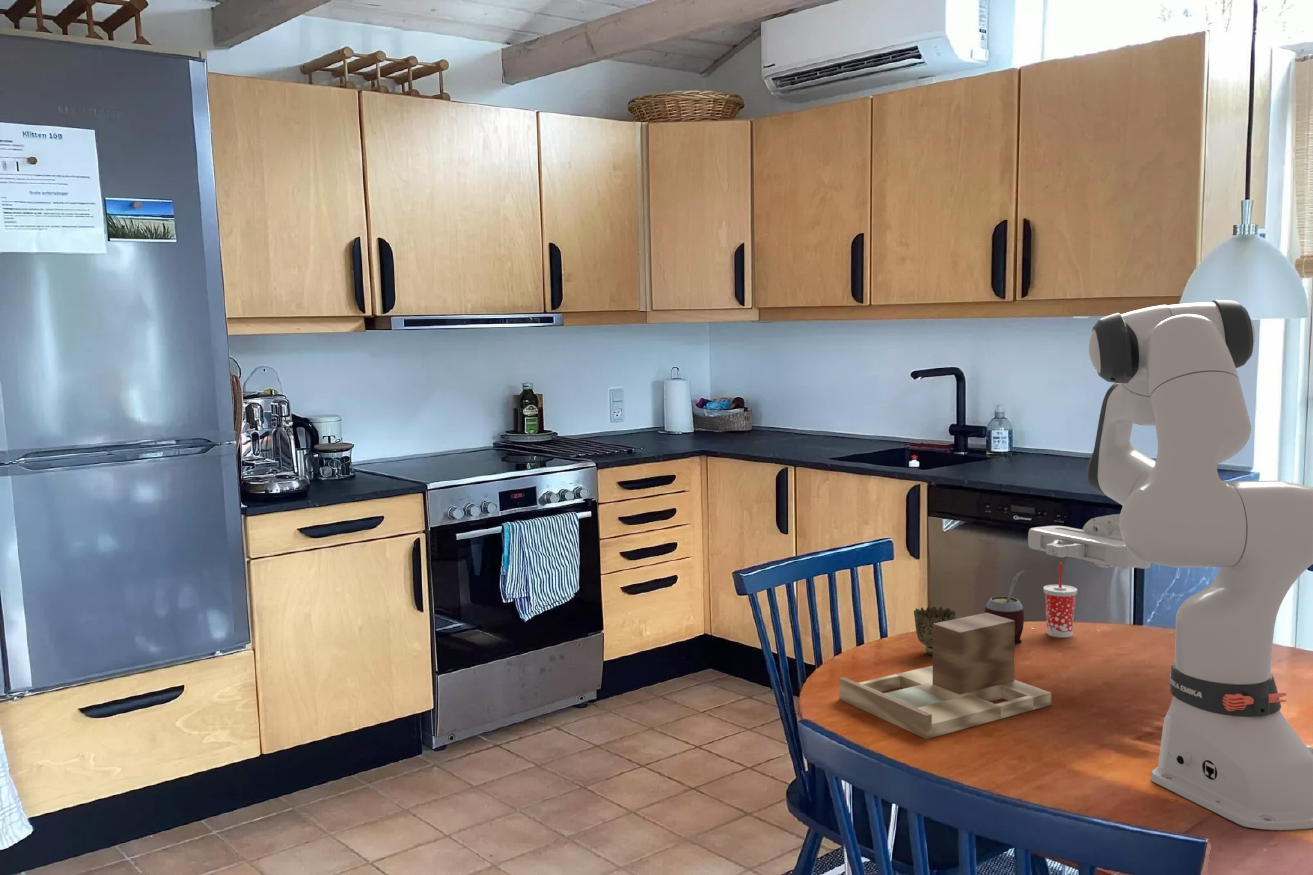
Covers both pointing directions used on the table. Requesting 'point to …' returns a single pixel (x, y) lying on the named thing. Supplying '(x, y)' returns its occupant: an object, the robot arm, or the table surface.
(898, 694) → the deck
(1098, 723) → the table surface
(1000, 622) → the block
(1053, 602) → the beverage cup
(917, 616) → the cup
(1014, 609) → the mate gourd
